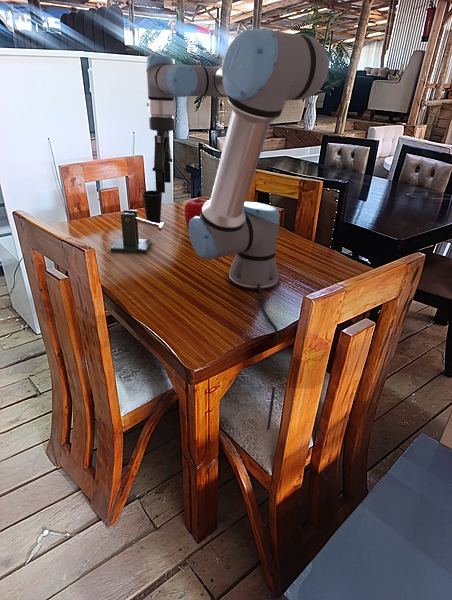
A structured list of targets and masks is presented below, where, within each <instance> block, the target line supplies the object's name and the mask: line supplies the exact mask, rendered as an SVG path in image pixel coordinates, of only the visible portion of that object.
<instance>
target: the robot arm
mask: <svg viewBox="0 0 452 600" xmlns="http://www.w3.org/2000/svg"><path fill="white" fill-rule="evenodd" d="M329 65H330V64H329V56H328V53H327V50H326V49H325V47H324V45H323V44H322V43H321V42H320V41H319V40H318V39H317V38H315V37H312V36H310V35H308V34H307V35H306V34H298V33H291V32H290V33H289V32H284V31H277V30H270V29H267V28H260V29H254V28H253V29H245V30H243V31H241V32H240V33H239V34H237V35H236V36H234V38H232V40H231V42H230V43H229V45H228V47H227V49H226V52H225V54H224V57H223V61H222V65H218V66H204V65H196V64H195V65H193V64H185V63H174V59H173V57H172V56H169V55H148V56H147V57H146V69H145V71H146V80H147V81H146V82H147V100H148V102H146V106H147V107H148V114H149V117H148V125H149V129H150V130H151V131H156V134H155V135H154V137H153V138H154V156H153V157H154V158H153V167H152V172H154V173H155V191H156V193H162V194H165V193H166V184H167V183H168V184H171V181H172V179H171V163H173V158H172V156H171V144H170V132H172V131H174V130H175V118H174V115H175V98H174V97H177V98H181V97H182V98H186V97H212V98H213V97H214V98H215V97H216V98H227V102H228V104H229V105H230V107H231V114H230V118H229V121H228V125H227V130H226V134H225V137H224V144H223V146H222V150H221V155H220V159H219V163H218V167H217V171H216V174H215V179H214V182H213V187H212V190H211V195H210V199H209V200H206V201H207V202H205V203H204V204H203V207H202V211H201V215H200V216H195V217H194V218H191V220H190V222H189V230H188V235H189V240H190V243H191V246H192V247H193V250H194V252H195V253H196V254H197V256H198V257H200V258H201V259H202V260H216V259H219V258H223V257H224V258H225V257H228V256H232V255H235V256H234V259H233V261H232V263H231V265H230V268H229V271H228V272H229V273H228V280H229V282H230V283H231V284H233V285H234V286H236V287H238V288H240V289H243V290H244V289H245V290H249V291H258V292H259V296H260V309H261V312H262V314H263V316H264V317H265V319H266V320H267V322H268V324H269V325H270V326H271V327H272V329H273V331H274V334H275V338H276V340H280V335H279V331H278V330H279V329H278V328H277V326H276V325H275V323H274V322H273V321H272V320H271V319H270V317H269V315H268V314H267V312H266V310H265V308H264V303H265V302H264V301H265V300H264V295H263V291H266V290H269V289H272V288H275V287H276V286H278V283H279V279H280V276H279V269H278V265H277V261H276V251H277V245H278V237H279V229H280V215H281V214H280V211H279V209H278V208H276V207H275V206H272V205H269V204H266V203H261V202H257V201H246V200H247V197H248V194H249V191H250V188H251V185H252V181H253V178H254V175H255V172H256V169H257V166H258V164H259V160H260V156H261V153H262V150H263V147H264V145H265V141H266V138H267V135H268V132H269V128H270V125H271V122H273V121H274V120H276V119H279V118H280V117H281V115H282V112H283V109H284V107H285V103H286V101H301V100H306V99H308V98H311V97H312V96H315V94H317V93H318V92H319V90H321V88H322V87H323V85H324V84H325V82H326V80H327V77H328V73H329V68H330V66H329ZM275 393H276V387H273V386H272V388H271V397H270V404H269V410H268V411H269V412H268V420H267V426H266V431H267V430H269V431H270V430H271V429H270V428H271V422H272V414H273V408H274V401H275Z"/></svg>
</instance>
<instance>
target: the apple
mask: <svg viewBox="0 0 452 600" xmlns="http://www.w3.org/2000/svg"><path fill="white" fill-rule="evenodd" d="M207 201H208V200H206V199H203V198H199V197H198V198H193V199H189V200H187V201H186V203H185V204H184V210H183V211H184V219H185V225H186V229H187V230H188V231H189V222H190V220H191V218H194V217H195V216H200V215H201V211H202V207H203V204H204V203H205V202H207Z"/></svg>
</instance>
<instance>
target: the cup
mask: <svg viewBox="0 0 452 600" xmlns="http://www.w3.org/2000/svg"><path fill="white" fill-rule="evenodd" d="M142 198H143V199H142V200H143V207H144V212H145V220H147V221H151V222H154V223H158V224H160V223H161V219H162V217H161V216H162V199H163V193H156V190H144V191H143V192H142Z"/></svg>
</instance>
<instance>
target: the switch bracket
mask: <svg viewBox="0 0 452 600" xmlns="http://www.w3.org/2000/svg"><path fill="white" fill-rule="evenodd" d="M126 212H129V213H132V214H128V213H126ZM135 217H137V218H138V210H137V209H123V212H121V213H120V223H121V235H122V237H117V238H116V239H115V241H114V243H113V244H112V246H111V247H110V253H120V254H141V255H142V254H144V255H146V254H147V253H148V250H149V249H150V247H151V245H152V239H149V238H140V236H139V222H137V221H135Z"/></svg>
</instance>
